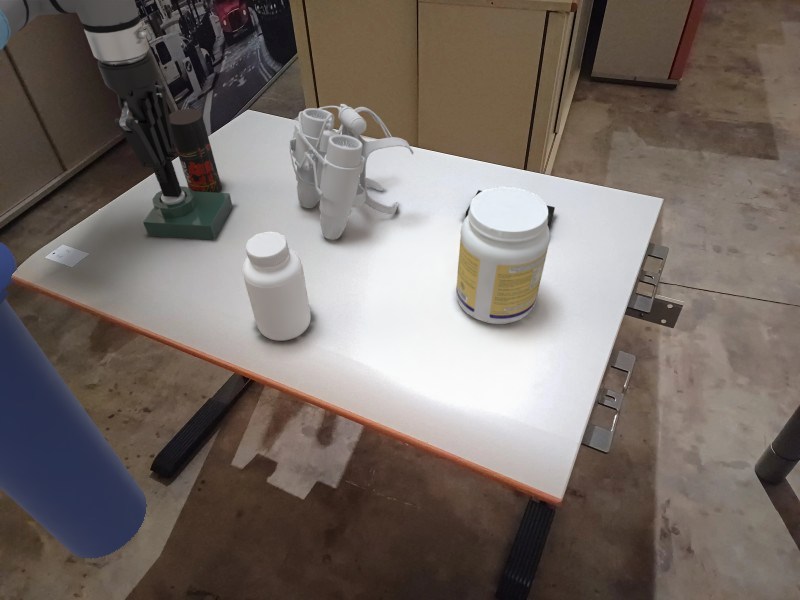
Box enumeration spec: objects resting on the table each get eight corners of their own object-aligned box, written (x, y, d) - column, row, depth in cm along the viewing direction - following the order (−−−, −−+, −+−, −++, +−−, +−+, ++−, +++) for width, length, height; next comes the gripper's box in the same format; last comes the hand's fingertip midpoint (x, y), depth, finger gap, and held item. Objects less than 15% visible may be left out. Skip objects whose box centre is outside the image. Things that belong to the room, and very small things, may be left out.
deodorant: (183, 194, 106) (159, 120, 95) (203, 178, 109) (181, 106, 99) (209, 201, 104) (187, 127, 93) (228, 185, 108) (208, 112, 97)
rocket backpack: (410, 235, 101) (436, 131, 89) (315, 247, 92) (331, 132, 80) (367, 189, 112) (385, 90, 100) (278, 195, 103) (287, 87, 91)
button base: (148, 236, 96) (138, 212, 93) (171, 203, 104) (162, 180, 100) (214, 240, 96) (207, 216, 92) (233, 206, 103) (226, 183, 99)
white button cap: (160, 211, 96) (156, 201, 95) (169, 198, 99) (166, 188, 98) (182, 212, 96) (179, 202, 94) (191, 199, 99) (188, 189, 97)
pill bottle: (249, 339, 79) (226, 260, 69) (267, 300, 85) (247, 221, 74) (303, 345, 78) (287, 265, 68) (317, 305, 84) (305, 226, 73)
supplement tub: (543, 284, 87) (565, 193, 75) (523, 337, 79) (544, 245, 67) (469, 264, 90) (479, 175, 79) (443, 313, 83) (450, 222, 71)
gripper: (128, 74, 74) (179, 217, 91) (167, 39, 84) (206, 175, 100) (75, 72, 75) (135, 215, 91) (119, 38, 84) (167, 173, 101)
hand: (172, 194), depth 96 cm, fingers closed
